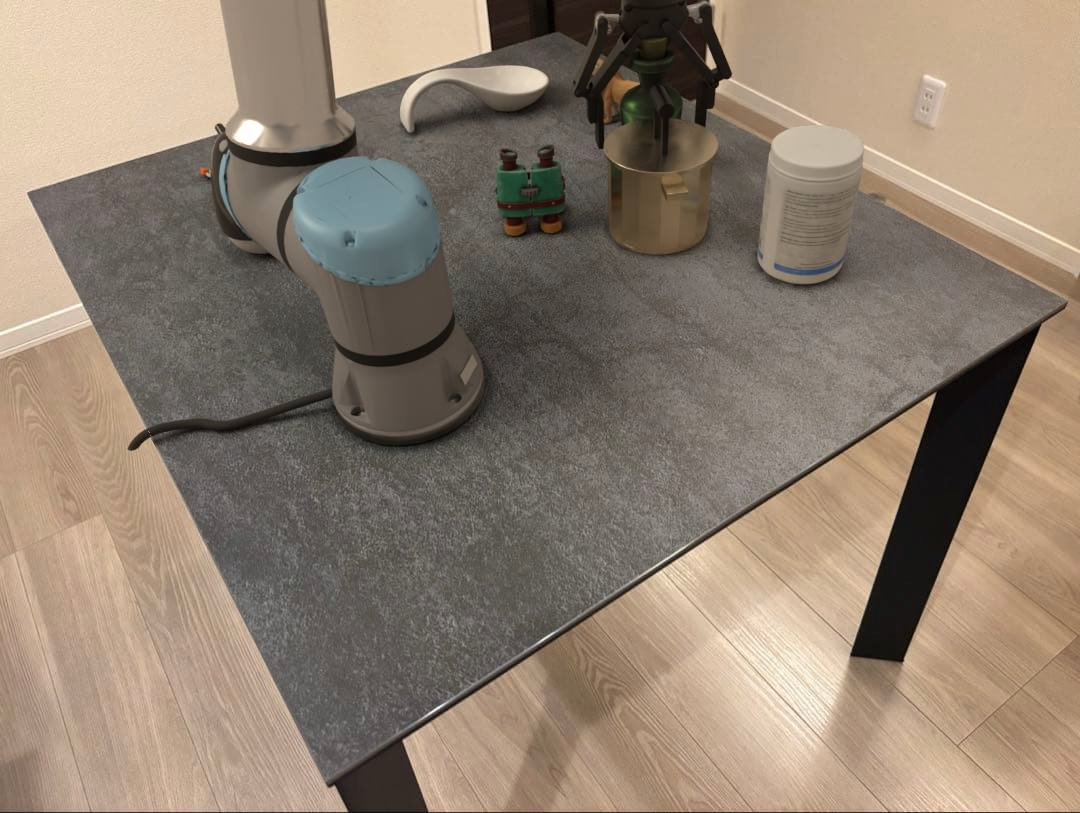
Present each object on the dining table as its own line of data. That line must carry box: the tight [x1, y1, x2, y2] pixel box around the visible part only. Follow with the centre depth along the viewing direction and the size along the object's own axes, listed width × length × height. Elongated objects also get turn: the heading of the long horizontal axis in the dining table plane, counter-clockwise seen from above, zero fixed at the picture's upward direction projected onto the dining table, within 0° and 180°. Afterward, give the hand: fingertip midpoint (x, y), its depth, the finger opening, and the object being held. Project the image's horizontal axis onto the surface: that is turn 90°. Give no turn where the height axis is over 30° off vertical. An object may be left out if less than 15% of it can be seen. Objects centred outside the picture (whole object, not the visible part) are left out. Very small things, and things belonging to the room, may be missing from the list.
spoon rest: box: [399, 64, 550, 134], centre depth 126 cm, size 24×12×7 cm, turn 114°
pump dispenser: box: [210, 122, 270, 255], centre depth 101 cm, size 10×10×15 cm
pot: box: [606, 159, 714, 256], centre depth 99 cm, size 12×17×10 cm
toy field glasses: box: [494, 144, 566, 237], centre depth 103 cm, size 9×11×10 cm
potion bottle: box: [619, 37, 684, 126], centre depth 106 cm, size 8×8×18 cm
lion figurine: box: [588, 57, 640, 125], centre depth 119 cm, size 15×5×9 cm, turn 55°
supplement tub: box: [757, 124, 865, 285], centre depth 90 cm, size 10×10×15 cm
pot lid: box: [603, 85, 719, 177], centre depth 93 cm, size 13×13×7 cm
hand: (649, 138), depth 110 cm, fingers open, 13 cm apart
